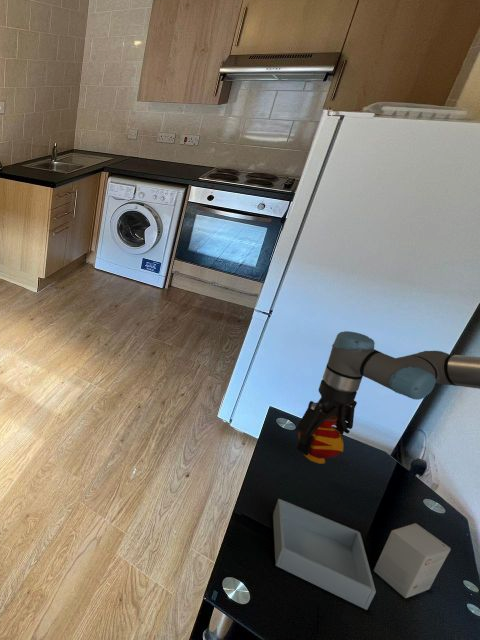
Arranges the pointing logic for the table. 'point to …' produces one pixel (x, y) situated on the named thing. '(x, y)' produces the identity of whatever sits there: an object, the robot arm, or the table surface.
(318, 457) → the potion bottle
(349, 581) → the gray square tray
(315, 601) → the table surface
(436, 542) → the small box
